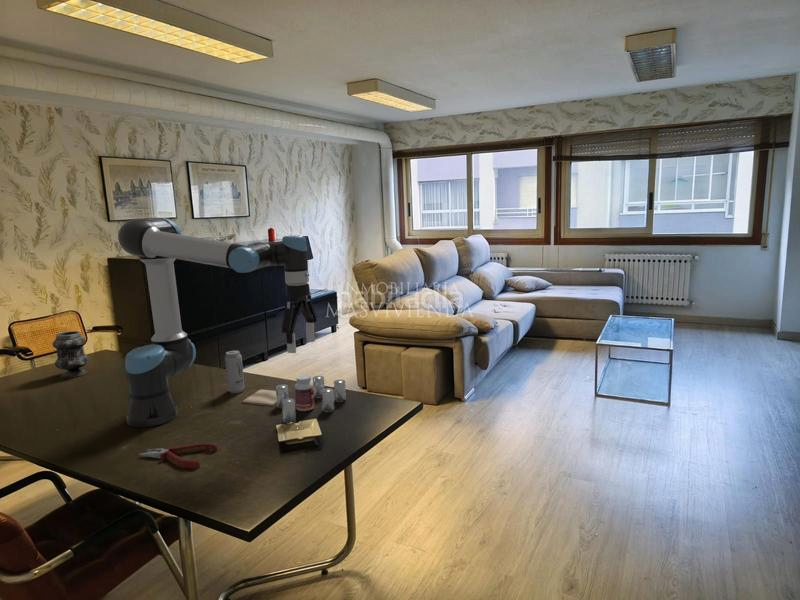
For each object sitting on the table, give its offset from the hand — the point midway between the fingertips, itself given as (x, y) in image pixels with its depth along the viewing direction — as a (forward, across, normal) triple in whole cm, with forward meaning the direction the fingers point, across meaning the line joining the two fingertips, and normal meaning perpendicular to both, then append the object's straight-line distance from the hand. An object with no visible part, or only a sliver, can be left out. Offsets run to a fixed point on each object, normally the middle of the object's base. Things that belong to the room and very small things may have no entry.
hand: (301, 346), depth 172 cm
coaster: (+21, +5, +18) cm, 28 cm away
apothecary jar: (+21, +11, +113) cm, 116 cm away
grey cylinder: (+22, +9, -9) cm, 25 cm away
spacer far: (+22, +11, 0) cm, 24 cm away
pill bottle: (+22, 0, 0) cm, 22 cm away
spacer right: (+22, 0, -8) cm, 23 cm away
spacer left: (+22, 0, +9) cm, 23 cm away
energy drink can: (+22, +9, +33) cm, 41 cm away
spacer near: (+22, -11, 0) cm, 24 cm away
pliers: (+22, -38, +19) cm, 48 cm away
